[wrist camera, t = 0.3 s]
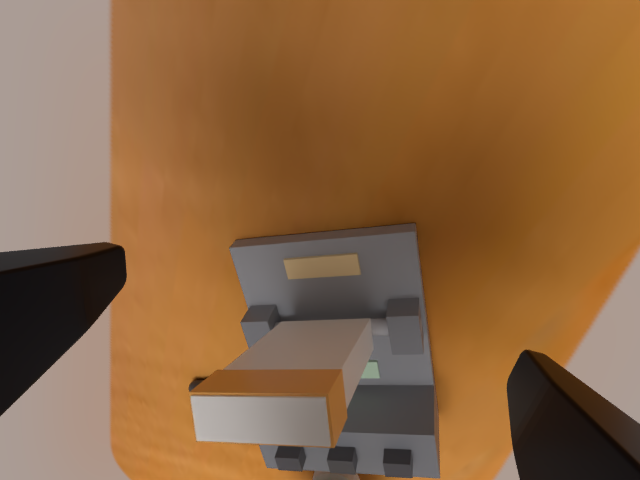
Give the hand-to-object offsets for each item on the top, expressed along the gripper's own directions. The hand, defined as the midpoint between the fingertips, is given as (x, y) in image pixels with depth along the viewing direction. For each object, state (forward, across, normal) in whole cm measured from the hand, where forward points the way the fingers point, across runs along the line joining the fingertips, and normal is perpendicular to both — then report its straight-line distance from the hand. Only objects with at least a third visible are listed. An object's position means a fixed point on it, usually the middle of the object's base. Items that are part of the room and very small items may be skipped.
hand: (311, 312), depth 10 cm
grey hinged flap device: (+13, -3, -13) cm, 18 cm away
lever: (+10, 0, -10) cm, 14 cm away
